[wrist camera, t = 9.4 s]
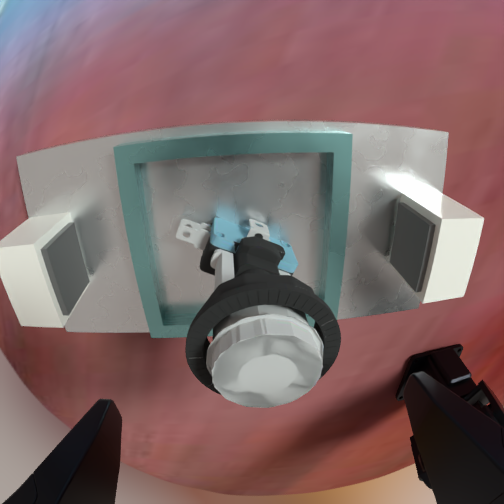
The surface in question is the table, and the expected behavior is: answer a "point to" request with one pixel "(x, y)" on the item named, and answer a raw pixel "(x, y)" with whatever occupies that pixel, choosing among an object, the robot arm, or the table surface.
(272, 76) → the table surface
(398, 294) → the teal-edged white tray
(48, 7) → the table surface
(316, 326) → the push button
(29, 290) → the white padded clamp jaws
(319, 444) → the table surface
